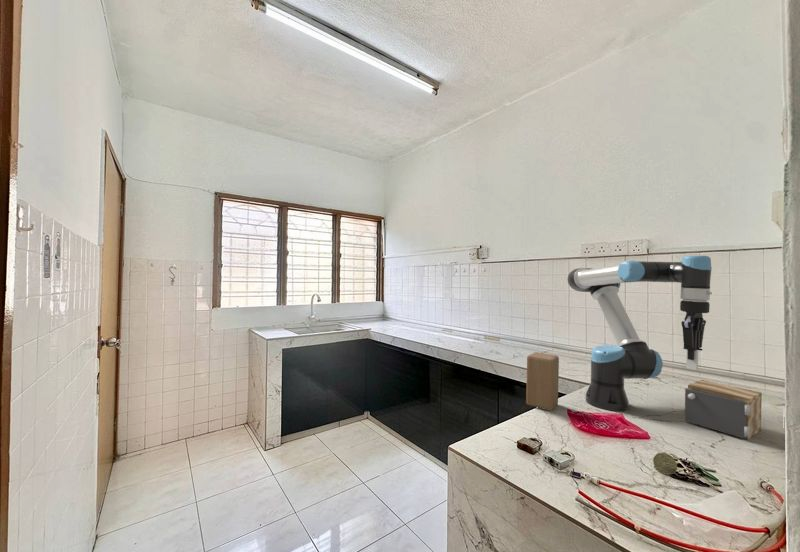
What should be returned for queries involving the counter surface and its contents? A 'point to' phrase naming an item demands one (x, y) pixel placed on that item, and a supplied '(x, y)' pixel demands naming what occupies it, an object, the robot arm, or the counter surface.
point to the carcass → (738, 394)
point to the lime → (665, 463)
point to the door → (717, 412)
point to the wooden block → (542, 380)
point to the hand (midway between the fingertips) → (691, 368)
